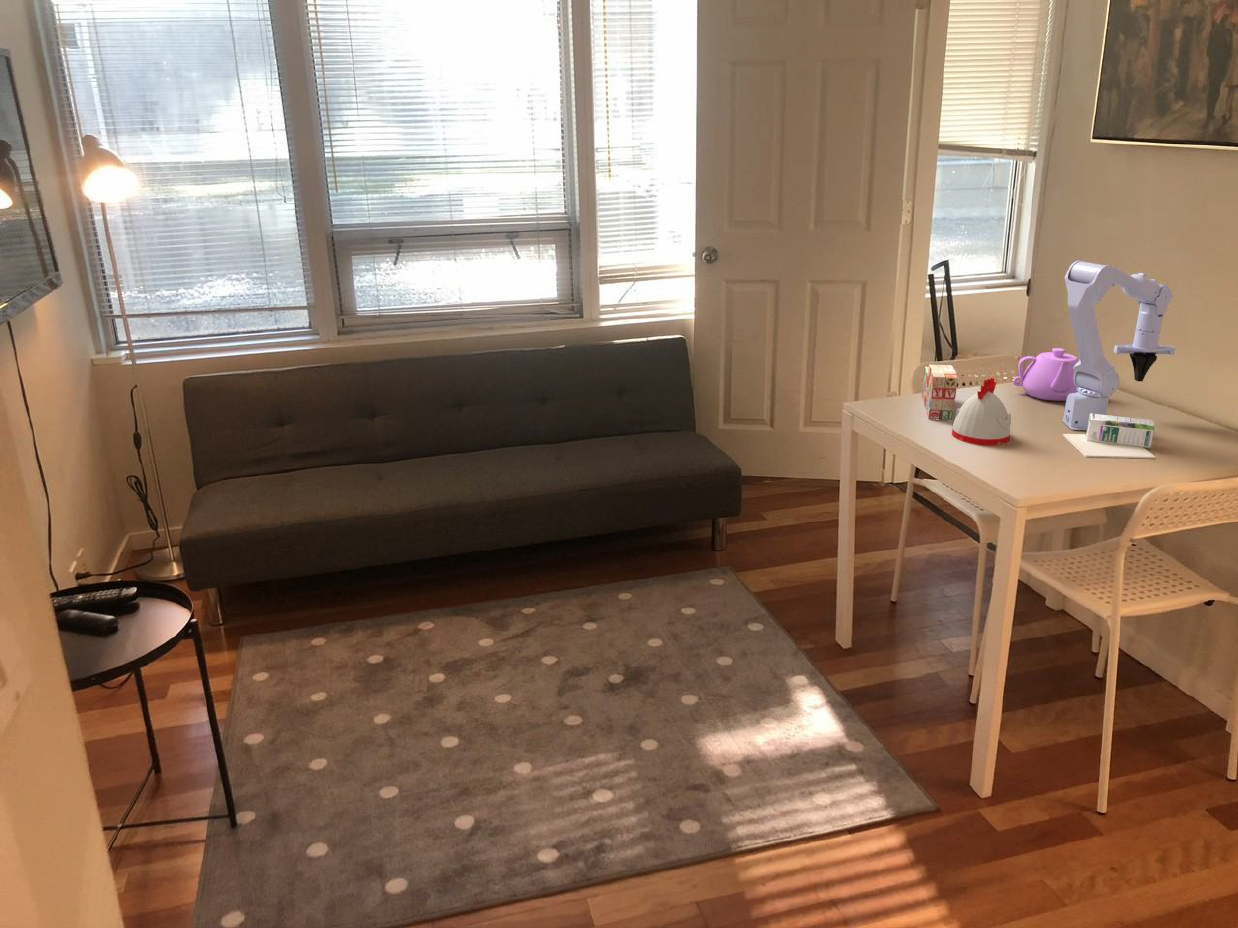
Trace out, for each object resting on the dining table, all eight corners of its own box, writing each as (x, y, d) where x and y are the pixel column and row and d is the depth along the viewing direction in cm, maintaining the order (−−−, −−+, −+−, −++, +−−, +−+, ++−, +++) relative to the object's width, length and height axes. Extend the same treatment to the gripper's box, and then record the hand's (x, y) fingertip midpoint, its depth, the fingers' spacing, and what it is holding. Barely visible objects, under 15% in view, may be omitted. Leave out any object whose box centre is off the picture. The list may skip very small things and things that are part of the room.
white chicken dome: (1018, 436, 248) (1027, 379, 242) (993, 449, 239) (1002, 390, 233) (967, 424, 257) (974, 369, 252) (941, 436, 248) (948, 379, 243)
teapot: (1018, 406, 271) (1025, 358, 266) (1007, 385, 291) (1013, 340, 286) (1103, 411, 266) (1112, 362, 262) (1086, 389, 286) (1093, 343, 281)
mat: (1085, 457, 233) (1085, 455, 233) (1062, 435, 248) (1063, 433, 248) (1155, 458, 232) (1155, 457, 231) (1128, 436, 246) (1128, 435, 246)
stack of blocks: (921, 397, 280) (925, 355, 276) (943, 398, 279) (948, 356, 275) (928, 420, 261) (933, 375, 256) (952, 421, 259) (958, 376, 255)
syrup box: (1151, 448, 237) (1085, 441, 242) (1149, 441, 242) (1085, 434, 248) (1155, 426, 235) (1089, 419, 240) (1153, 419, 240) (1089, 412, 245)
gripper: (1170, 326, 255) (1160, 376, 260) (1113, 326, 257) (1104, 375, 261) (1182, 332, 249) (1172, 384, 254) (1123, 332, 250) (1114, 383, 255)
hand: (1138, 380), depth 257 cm, fingers closed
